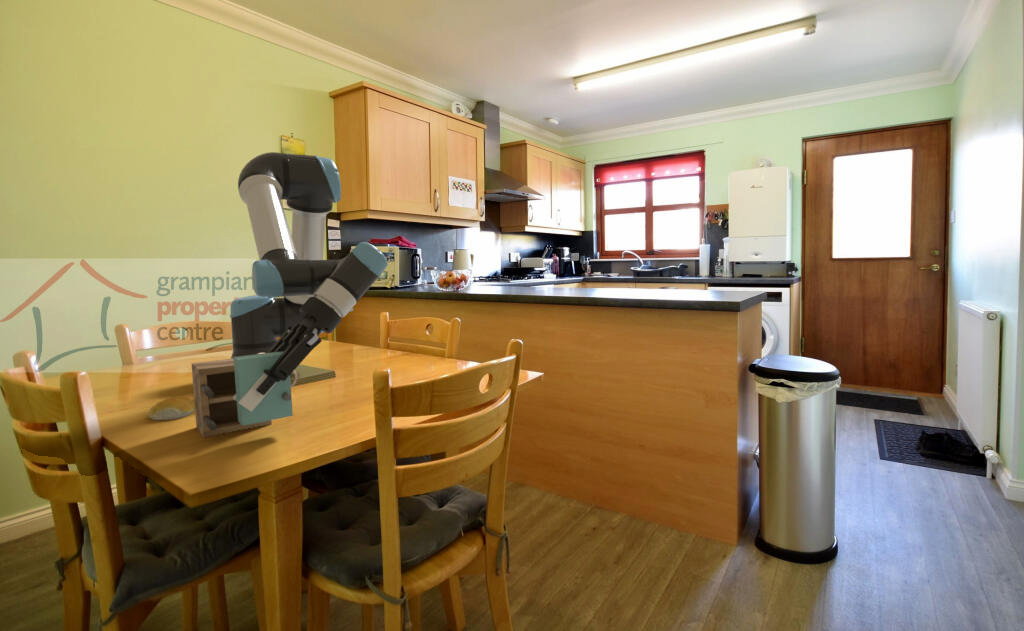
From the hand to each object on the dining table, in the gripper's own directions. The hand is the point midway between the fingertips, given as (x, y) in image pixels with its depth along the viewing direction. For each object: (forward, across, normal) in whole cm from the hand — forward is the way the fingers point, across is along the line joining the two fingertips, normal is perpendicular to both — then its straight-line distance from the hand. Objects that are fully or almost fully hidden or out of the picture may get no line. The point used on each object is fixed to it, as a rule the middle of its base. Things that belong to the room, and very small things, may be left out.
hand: (242, 404), depth 94 cm
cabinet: (+4, +8, -5) cm, 11 cm away
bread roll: (+10, +30, 0) cm, 31 cm away
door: (0, 0, -5) cm, 5 cm away
